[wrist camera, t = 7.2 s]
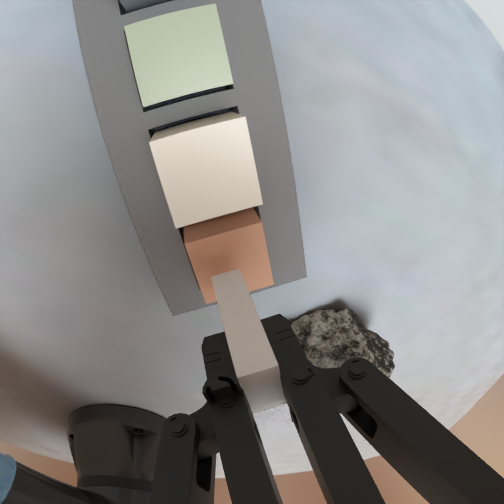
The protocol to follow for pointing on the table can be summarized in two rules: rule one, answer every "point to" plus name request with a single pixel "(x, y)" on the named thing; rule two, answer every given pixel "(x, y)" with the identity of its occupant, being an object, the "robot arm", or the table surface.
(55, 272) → the table surface
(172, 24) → the key sage
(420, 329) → the table surface
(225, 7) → the grey socket tray
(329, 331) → the rock
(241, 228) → the key terracotta
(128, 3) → the key slate
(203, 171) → the key cream
